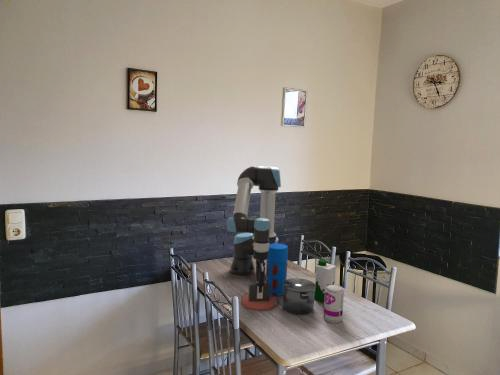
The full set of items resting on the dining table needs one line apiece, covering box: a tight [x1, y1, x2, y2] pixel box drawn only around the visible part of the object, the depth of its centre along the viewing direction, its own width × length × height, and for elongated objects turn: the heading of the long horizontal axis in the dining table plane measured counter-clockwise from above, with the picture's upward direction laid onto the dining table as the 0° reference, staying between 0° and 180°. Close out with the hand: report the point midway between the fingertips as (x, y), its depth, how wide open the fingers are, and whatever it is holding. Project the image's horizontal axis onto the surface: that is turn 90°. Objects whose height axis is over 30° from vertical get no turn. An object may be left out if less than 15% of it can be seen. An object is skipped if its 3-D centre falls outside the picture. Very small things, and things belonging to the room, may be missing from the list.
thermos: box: [265, 242, 289, 297], centre depth 195 cm, size 11×11×25 cm
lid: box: [241, 282, 277, 311], centre depth 181 cm, size 17×17×10 cm
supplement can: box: [323, 284, 345, 324], centre depth 167 cm, size 8×8×15 cm
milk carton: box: [314, 259, 337, 304], centre depth 187 cm, size 9×9×20 cm
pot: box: [281, 277, 316, 316], centre depth 177 cm, size 21×16×12 cm
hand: (259, 296), depth 181 cm, fingers closed on lid, 3 cm apart
